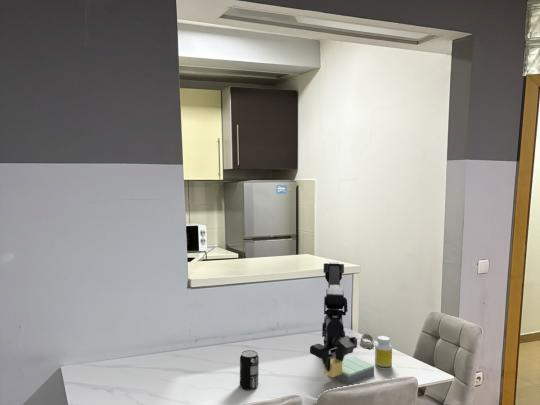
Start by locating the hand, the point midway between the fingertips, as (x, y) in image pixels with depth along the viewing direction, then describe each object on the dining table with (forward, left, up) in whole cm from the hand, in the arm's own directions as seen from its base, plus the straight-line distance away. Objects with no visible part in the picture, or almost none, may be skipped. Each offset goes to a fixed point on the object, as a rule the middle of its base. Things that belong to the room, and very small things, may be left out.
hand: (333, 369), depth 151 cm
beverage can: (-14, -28, -5) cm, 31 cm away
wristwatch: (-17, +38, -5) cm, 42 cm away
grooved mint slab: (0, +7, -2) cm, 7 cm away
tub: (0, +9, -4) cm, 11 cm away
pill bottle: (+2, +25, -5) cm, 26 cm away
